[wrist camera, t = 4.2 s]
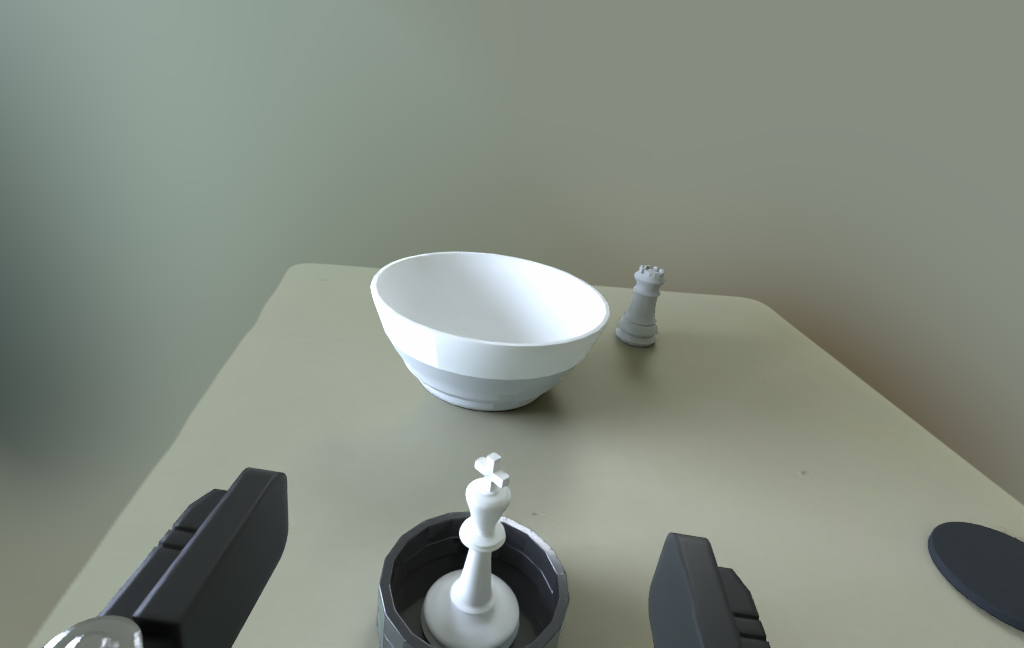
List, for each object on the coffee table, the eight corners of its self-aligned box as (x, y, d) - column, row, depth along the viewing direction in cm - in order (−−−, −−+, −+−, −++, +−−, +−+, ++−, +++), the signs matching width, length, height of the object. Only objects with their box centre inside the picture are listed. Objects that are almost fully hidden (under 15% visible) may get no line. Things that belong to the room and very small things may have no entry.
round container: (595, 660, 28) (607, 618, 27) (420, 753, 24) (426, 706, 22) (502, 532, 35) (509, 493, 34) (352, 584, 30) (353, 542, 29)
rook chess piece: (651, 332, 65) (668, 264, 62) (659, 350, 61) (678, 279, 58) (611, 327, 65) (627, 259, 62) (617, 345, 61) (634, 273, 58)
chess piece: (467, 685, 26) (494, 514, 22) (400, 612, 29) (412, 448, 25) (539, 621, 30) (574, 463, 25) (472, 561, 32) (494, 411, 28)
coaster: (1141, 642, 34) (1147, 635, 34) (1015, 649, 32) (1020, 642, 32) (1003, 527, 42) (1007, 520, 42) (896, 528, 40) (899, 521, 40)
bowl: (613, 365, 57) (632, 286, 53) (549, 479, 40) (570, 375, 37) (437, 312, 62) (444, 238, 59) (317, 392, 46) (316, 295, 42)
